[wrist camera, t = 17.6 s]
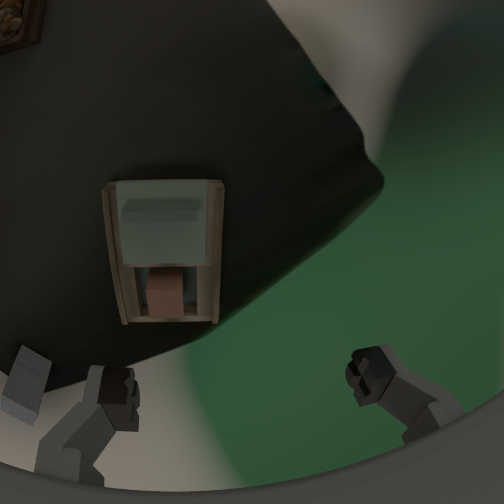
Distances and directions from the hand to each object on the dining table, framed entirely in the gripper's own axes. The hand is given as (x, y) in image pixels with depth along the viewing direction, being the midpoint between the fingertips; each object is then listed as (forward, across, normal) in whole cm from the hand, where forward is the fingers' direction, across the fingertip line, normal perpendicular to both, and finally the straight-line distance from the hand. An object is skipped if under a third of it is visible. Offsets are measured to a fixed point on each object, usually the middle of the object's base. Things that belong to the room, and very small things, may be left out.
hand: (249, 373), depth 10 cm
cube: (+28, +5, +15) cm, 32 cm away
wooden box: (+29, +5, +10) cm, 31 cm away
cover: (+26, +5, +5) cm, 26 cm away
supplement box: (+29, +35, +35) cm, 58 cm away
